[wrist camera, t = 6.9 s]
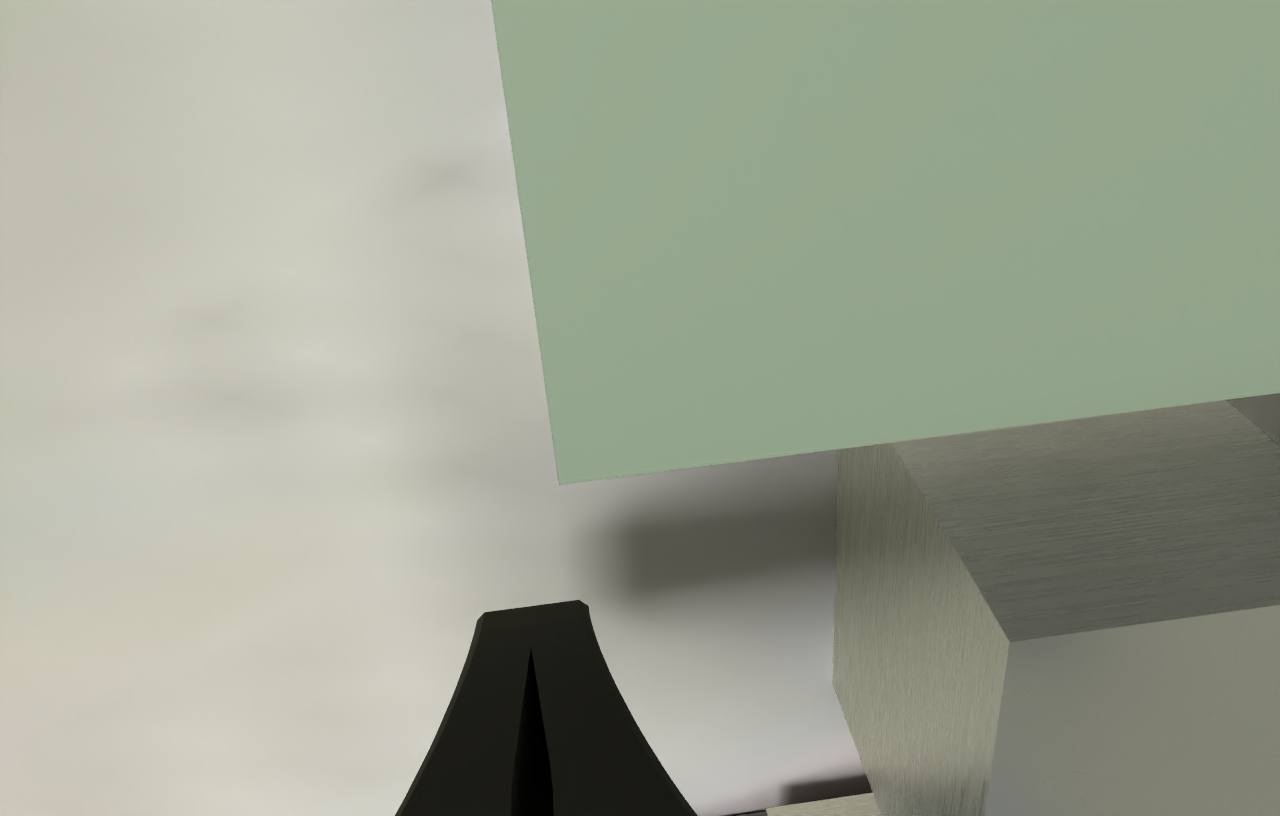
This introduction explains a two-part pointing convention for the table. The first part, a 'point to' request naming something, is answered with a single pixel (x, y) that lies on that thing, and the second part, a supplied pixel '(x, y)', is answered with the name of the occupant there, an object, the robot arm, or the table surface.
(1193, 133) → the block
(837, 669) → the steel block
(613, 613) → the table surface
